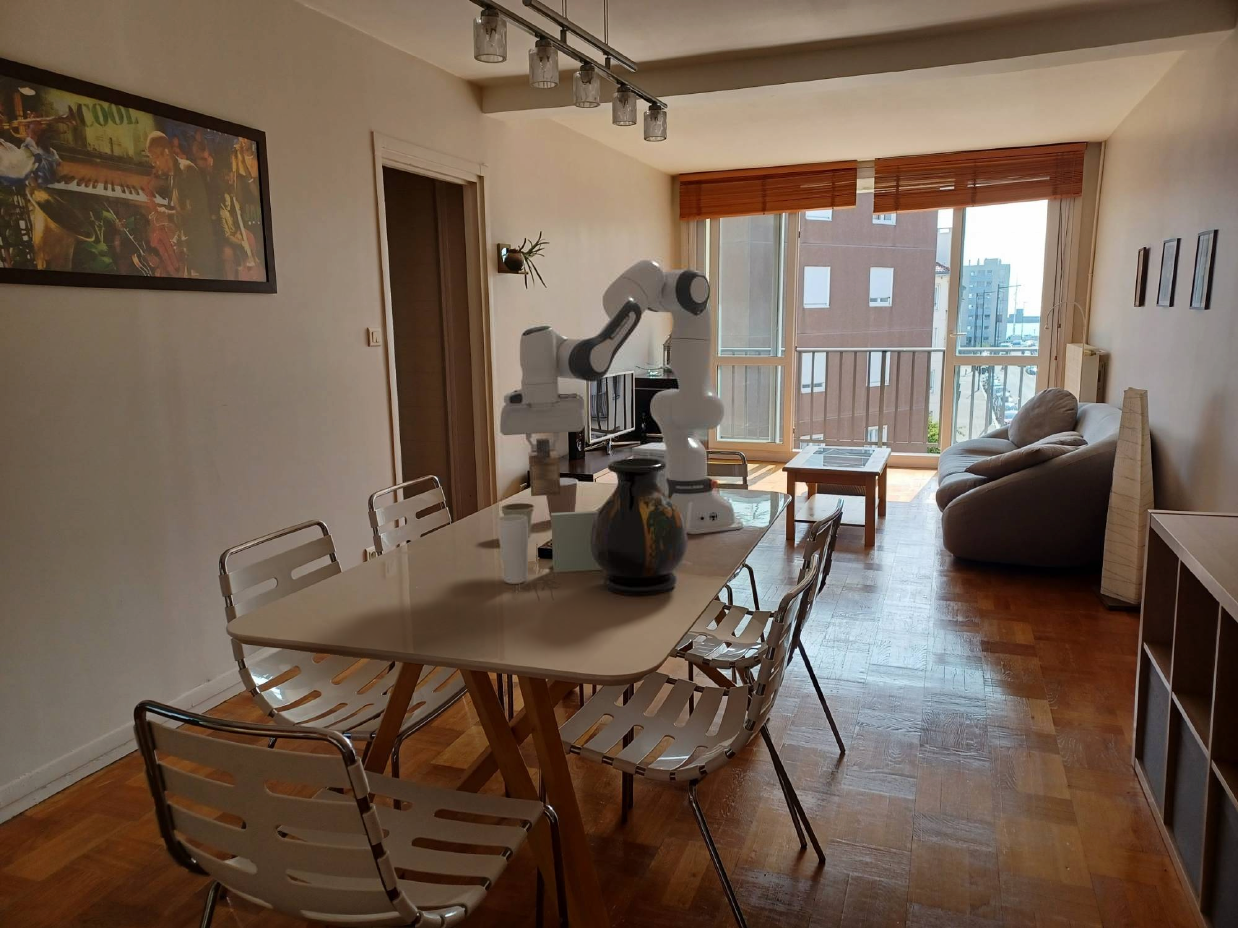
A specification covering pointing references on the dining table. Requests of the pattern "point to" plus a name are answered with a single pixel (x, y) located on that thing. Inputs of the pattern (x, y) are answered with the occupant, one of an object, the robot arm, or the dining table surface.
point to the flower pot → (519, 511)
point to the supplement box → (657, 453)
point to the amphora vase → (638, 531)
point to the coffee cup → (563, 497)
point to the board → (573, 541)
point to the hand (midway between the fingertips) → (543, 451)
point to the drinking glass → (514, 547)
